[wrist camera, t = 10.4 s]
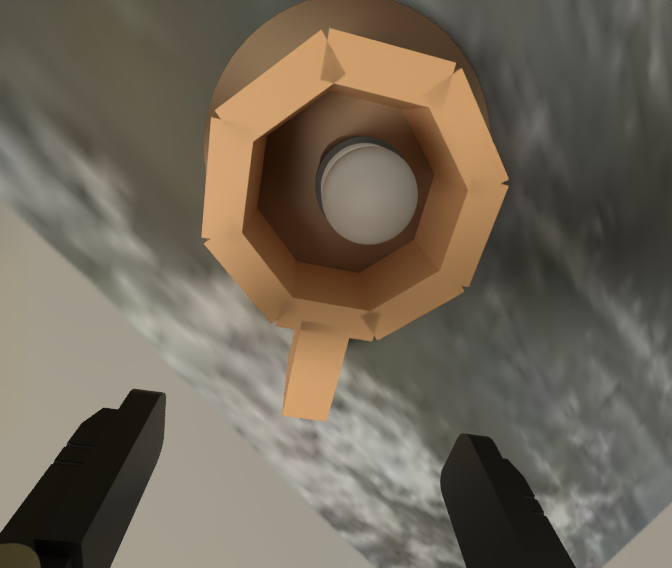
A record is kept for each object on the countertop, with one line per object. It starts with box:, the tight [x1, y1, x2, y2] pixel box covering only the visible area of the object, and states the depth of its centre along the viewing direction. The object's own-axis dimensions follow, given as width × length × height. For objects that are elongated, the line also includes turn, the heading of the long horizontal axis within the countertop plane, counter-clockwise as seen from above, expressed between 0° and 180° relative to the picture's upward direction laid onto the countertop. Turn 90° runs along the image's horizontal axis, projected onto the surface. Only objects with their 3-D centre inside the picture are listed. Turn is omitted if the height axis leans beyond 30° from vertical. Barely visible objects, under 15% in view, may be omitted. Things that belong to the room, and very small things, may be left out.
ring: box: [202, 28, 509, 421], centre depth 14 cm, size 13×9×4 cm
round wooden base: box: [204, 0, 490, 273], centre depth 12 cm, size 11×11×8 cm
